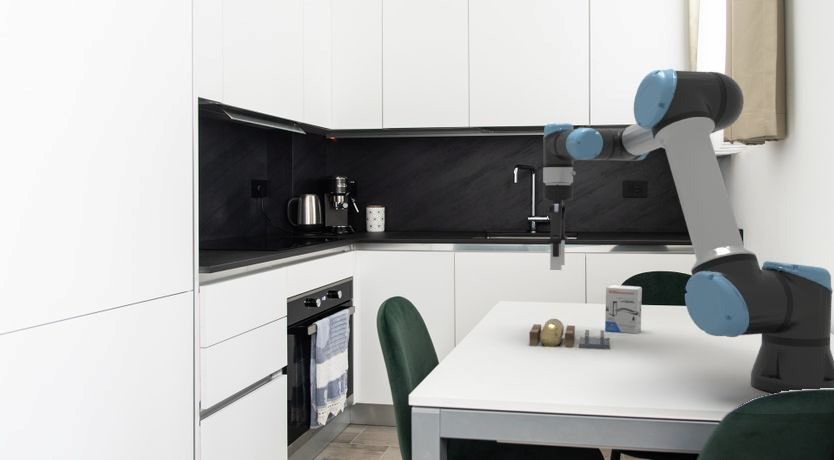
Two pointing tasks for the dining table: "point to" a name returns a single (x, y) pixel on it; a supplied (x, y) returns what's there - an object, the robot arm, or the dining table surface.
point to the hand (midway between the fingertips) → (557, 267)
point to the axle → (552, 333)
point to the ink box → (623, 309)
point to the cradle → (594, 341)
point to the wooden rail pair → (537, 330)
